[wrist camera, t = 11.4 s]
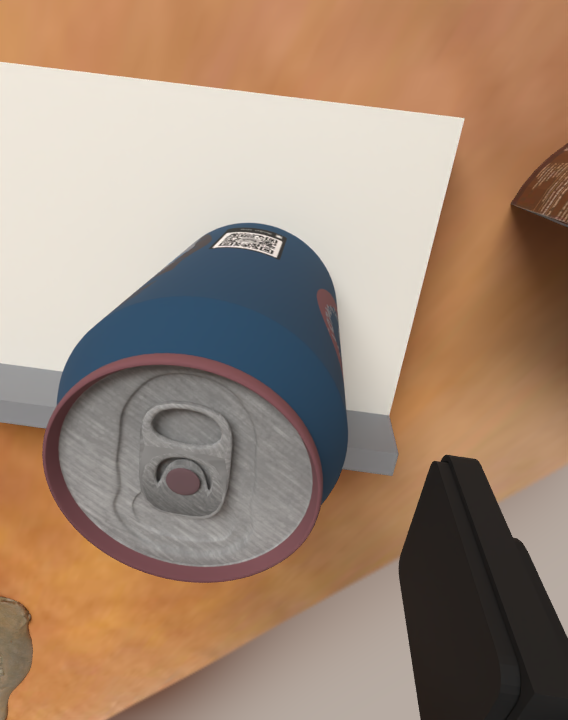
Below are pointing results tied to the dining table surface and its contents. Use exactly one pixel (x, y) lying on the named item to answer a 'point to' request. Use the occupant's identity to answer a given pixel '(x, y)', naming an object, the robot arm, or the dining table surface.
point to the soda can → (206, 411)
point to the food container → (547, 189)
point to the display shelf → (208, 216)
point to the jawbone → (13, 649)
